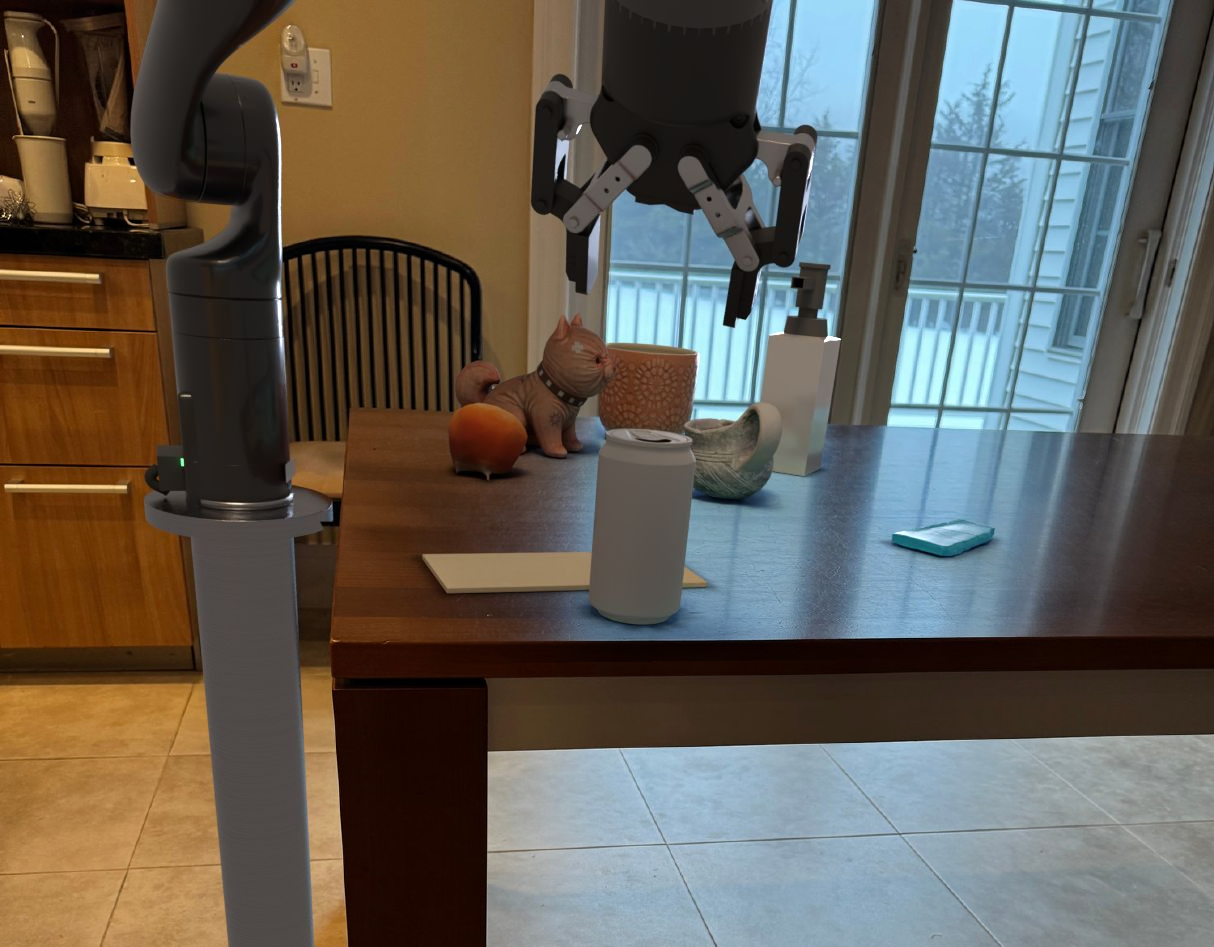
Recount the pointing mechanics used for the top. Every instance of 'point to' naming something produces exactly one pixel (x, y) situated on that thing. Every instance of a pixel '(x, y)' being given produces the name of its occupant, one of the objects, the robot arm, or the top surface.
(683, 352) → the planter
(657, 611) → the beverage can
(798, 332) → the soap dispenser
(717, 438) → the mug
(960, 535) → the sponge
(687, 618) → the top surface
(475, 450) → the fruit
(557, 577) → the board
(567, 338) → the figurine
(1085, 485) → the top surface
